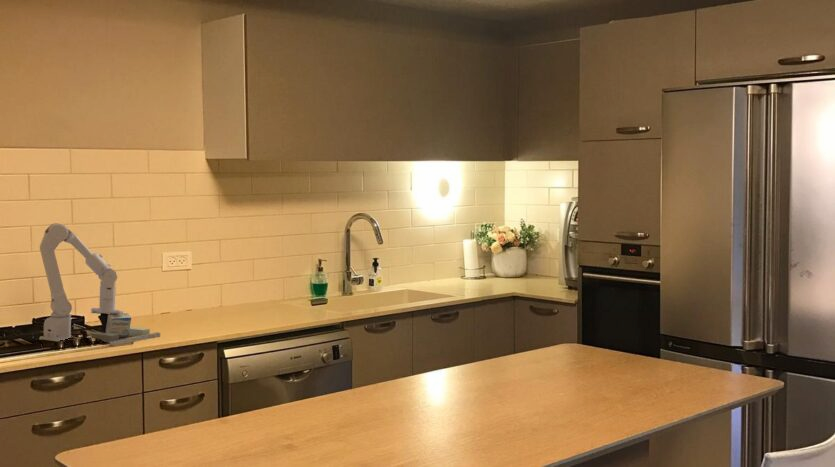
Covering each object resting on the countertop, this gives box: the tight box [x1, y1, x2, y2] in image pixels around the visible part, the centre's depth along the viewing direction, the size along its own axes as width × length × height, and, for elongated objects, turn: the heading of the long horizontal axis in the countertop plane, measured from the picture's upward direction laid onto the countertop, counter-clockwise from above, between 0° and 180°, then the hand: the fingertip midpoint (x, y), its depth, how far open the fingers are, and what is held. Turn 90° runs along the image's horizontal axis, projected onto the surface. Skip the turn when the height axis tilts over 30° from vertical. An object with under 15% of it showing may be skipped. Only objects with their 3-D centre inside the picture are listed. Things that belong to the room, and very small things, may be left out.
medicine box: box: [106, 312, 132, 339], centre depth 356 cm, size 8×4×9 cm, turn 127°
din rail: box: [109, 332, 161, 347], centre depth 351 cm, size 26×2×2 cm, turn 155°
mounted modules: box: [90, 325, 151, 345], centre depth 355 cm, size 21×10×3 cm, turn 155°
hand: (106, 333), depth 358 cm, fingers closed
